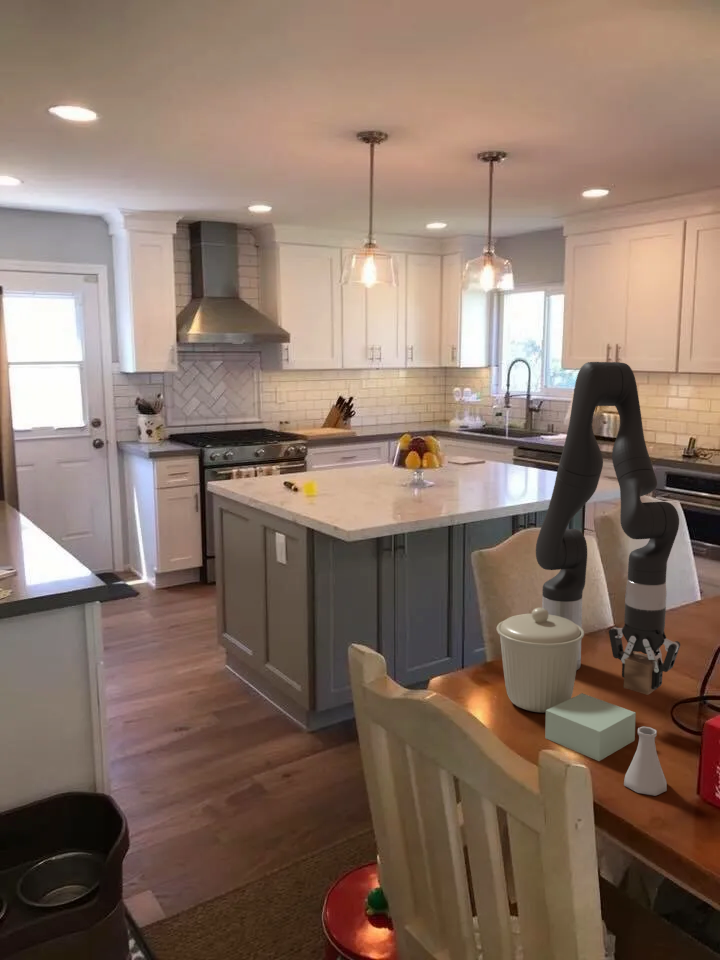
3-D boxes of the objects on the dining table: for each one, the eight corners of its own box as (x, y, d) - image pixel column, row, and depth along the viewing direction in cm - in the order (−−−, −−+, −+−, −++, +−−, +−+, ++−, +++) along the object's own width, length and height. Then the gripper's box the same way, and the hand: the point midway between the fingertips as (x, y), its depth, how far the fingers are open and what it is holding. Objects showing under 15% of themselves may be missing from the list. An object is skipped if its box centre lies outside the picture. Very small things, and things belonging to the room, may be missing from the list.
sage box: (545, 739, 152) (545, 710, 151) (581, 720, 160) (582, 693, 159) (598, 762, 143) (599, 731, 142) (634, 741, 151) (635, 712, 150)
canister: (598, 702, 167) (601, 607, 164) (550, 730, 155) (552, 628, 152) (528, 679, 181) (529, 590, 178) (478, 702, 168) (479, 608, 165)
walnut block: (623, 687, 156) (624, 659, 155) (634, 679, 159) (636, 652, 158) (648, 695, 152) (649, 666, 151) (658, 687, 156) (660, 658, 155)
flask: (632, 770, 140) (634, 717, 138) (673, 783, 135) (676, 728, 134) (616, 787, 134) (618, 732, 133) (659, 801, 130) (661, 744, 128)
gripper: (689, 605, 150) (684, 688, 153) (619, 590, 160) (615, 668, 163) (674, 615, 145) (669, 701, 148) (602, 599, 155) (598, 680, 158)
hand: (641, 683), depth 156 cm, fingers closed on walnut block, 5 cm apart
